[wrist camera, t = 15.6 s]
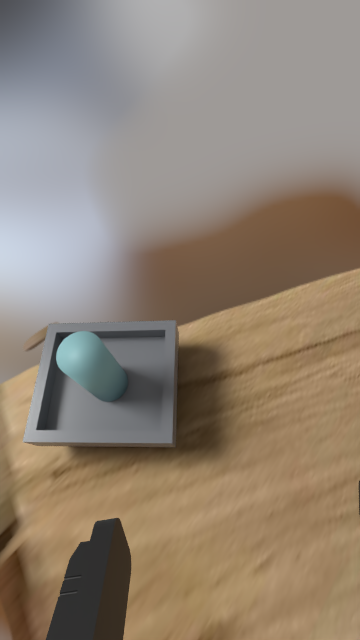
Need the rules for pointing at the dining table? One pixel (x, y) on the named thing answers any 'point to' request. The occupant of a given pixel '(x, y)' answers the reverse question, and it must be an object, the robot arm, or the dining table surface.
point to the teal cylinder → (92, 366)
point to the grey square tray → (119, 415)
